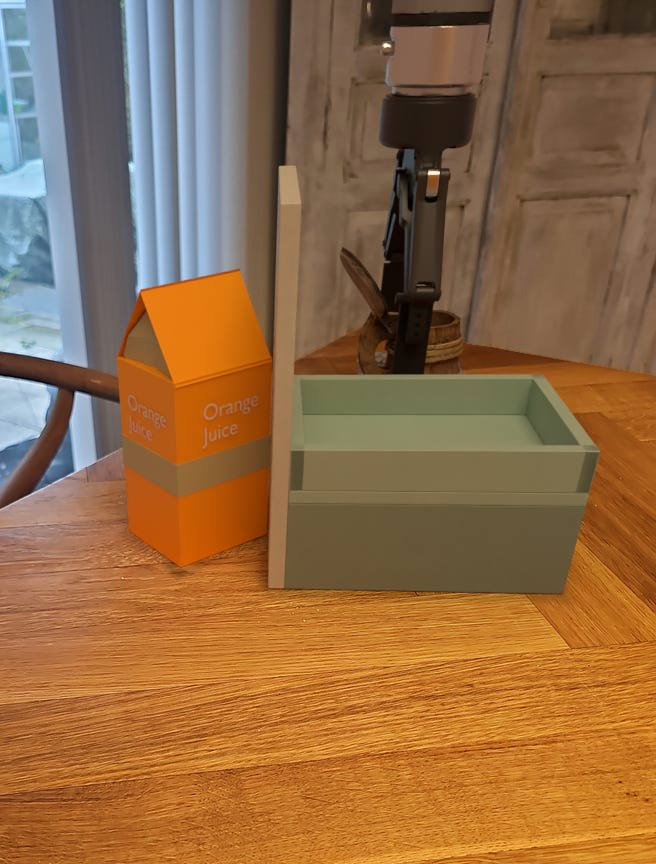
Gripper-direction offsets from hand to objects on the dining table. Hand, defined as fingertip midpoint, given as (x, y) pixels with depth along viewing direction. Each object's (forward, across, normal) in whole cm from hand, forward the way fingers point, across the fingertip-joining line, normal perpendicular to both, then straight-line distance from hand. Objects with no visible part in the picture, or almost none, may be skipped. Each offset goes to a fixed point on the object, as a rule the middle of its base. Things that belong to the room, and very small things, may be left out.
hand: (397, 353), depth 83 cm
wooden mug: (+8, 0, 0) cm, 8 cm away
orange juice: (+8, +21, -18) cm, 29 cm away
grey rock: (+8, -13, +3) cm, 16 cm away
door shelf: (+8, +22, -1) cm, 23 cm away
